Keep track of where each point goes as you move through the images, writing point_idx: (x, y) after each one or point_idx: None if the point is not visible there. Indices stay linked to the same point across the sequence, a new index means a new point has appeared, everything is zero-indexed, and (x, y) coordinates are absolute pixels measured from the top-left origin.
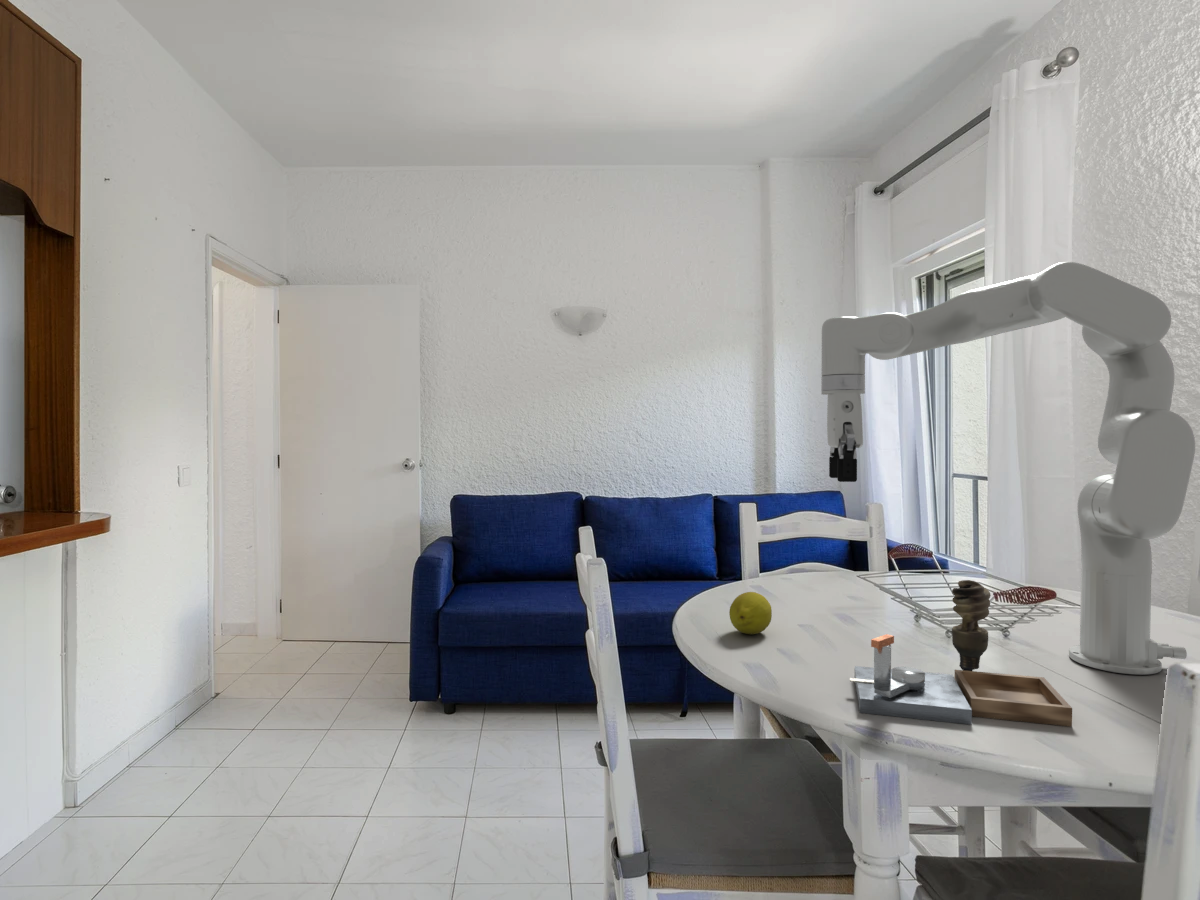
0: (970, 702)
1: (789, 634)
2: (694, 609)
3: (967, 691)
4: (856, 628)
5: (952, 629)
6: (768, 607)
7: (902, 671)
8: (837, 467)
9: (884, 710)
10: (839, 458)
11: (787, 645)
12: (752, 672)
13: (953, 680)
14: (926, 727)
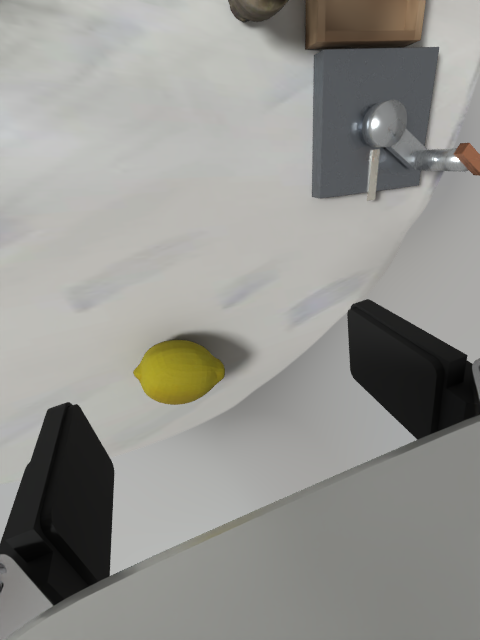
0: (411, 42)
1: (149, 309)
2: None
3: (400, 40)
4: (44, 212)
5: (268, 12)
6: (181, 353)
7: (390, 132)
8: (91, 491)
9: None
10: (82, 548)
11: (206, 299)
12: (320, 309)
13: (346, 52)
14: (433, 111)
